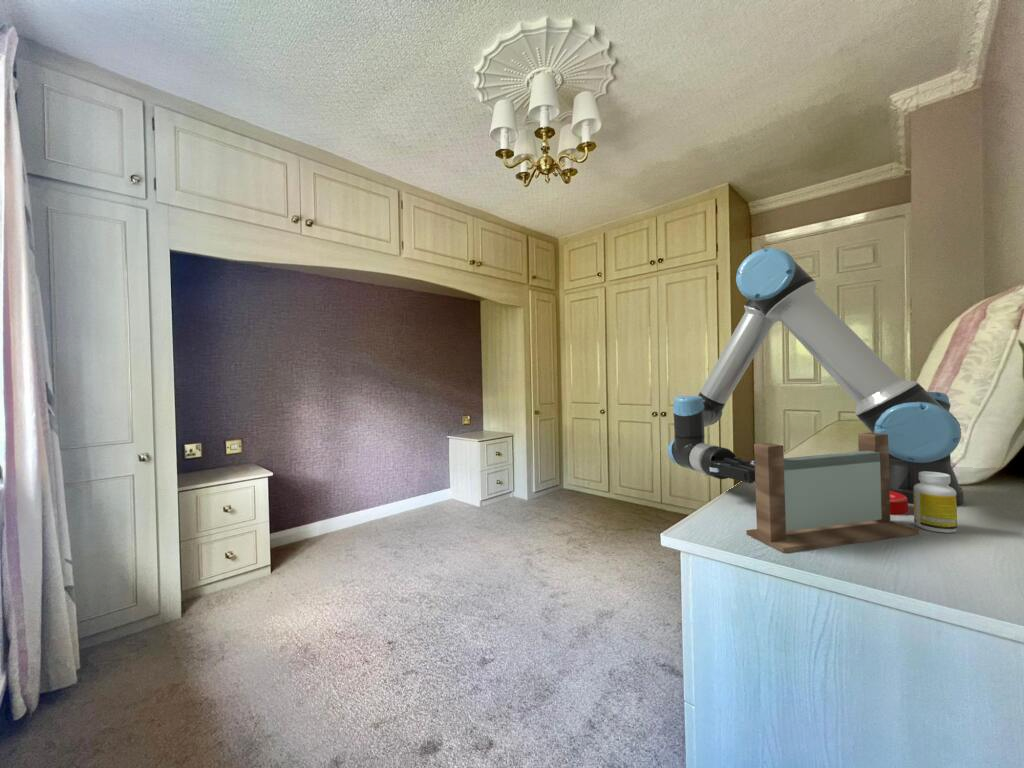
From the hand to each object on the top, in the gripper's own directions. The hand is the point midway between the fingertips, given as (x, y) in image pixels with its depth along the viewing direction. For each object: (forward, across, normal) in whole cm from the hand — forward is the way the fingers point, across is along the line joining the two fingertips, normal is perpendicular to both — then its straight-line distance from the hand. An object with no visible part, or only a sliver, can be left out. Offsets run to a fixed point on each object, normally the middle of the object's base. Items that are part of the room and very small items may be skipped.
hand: (794, 484), depth 79 cm
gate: (+6, -1, -5) cm, 8 cm away
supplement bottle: (+9, -20, -8) cm, 24 cm away
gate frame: (+6, -1, -7) cm, 10 cm away
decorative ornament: (-3, -22, -8) cm, 24 cm away
